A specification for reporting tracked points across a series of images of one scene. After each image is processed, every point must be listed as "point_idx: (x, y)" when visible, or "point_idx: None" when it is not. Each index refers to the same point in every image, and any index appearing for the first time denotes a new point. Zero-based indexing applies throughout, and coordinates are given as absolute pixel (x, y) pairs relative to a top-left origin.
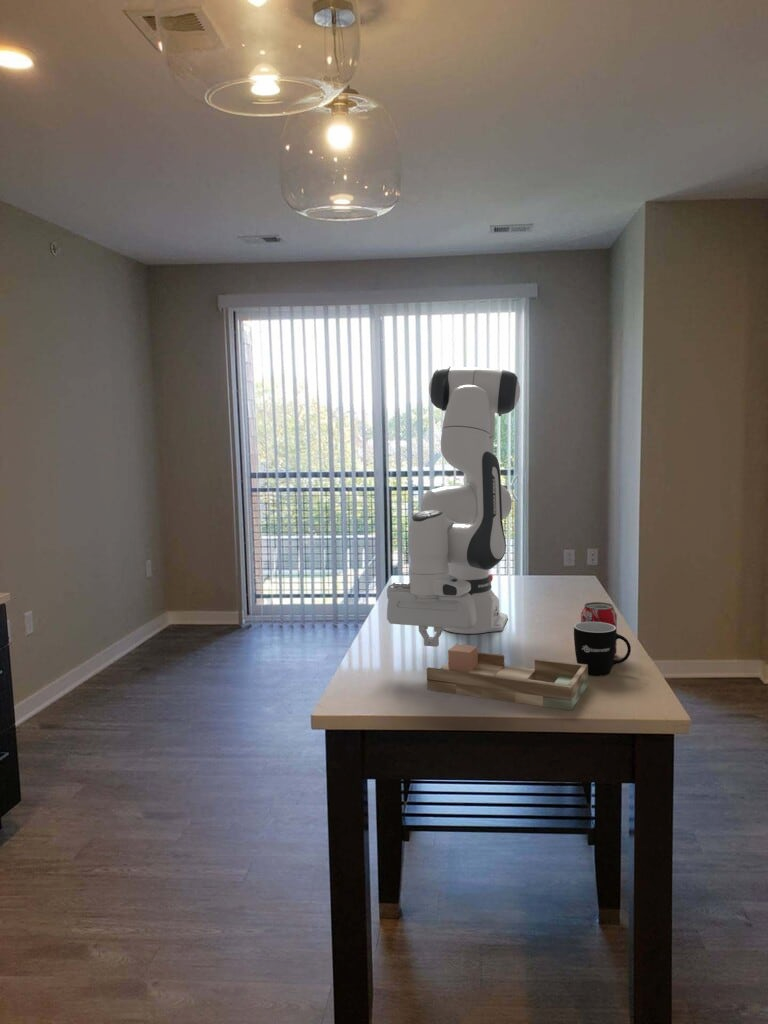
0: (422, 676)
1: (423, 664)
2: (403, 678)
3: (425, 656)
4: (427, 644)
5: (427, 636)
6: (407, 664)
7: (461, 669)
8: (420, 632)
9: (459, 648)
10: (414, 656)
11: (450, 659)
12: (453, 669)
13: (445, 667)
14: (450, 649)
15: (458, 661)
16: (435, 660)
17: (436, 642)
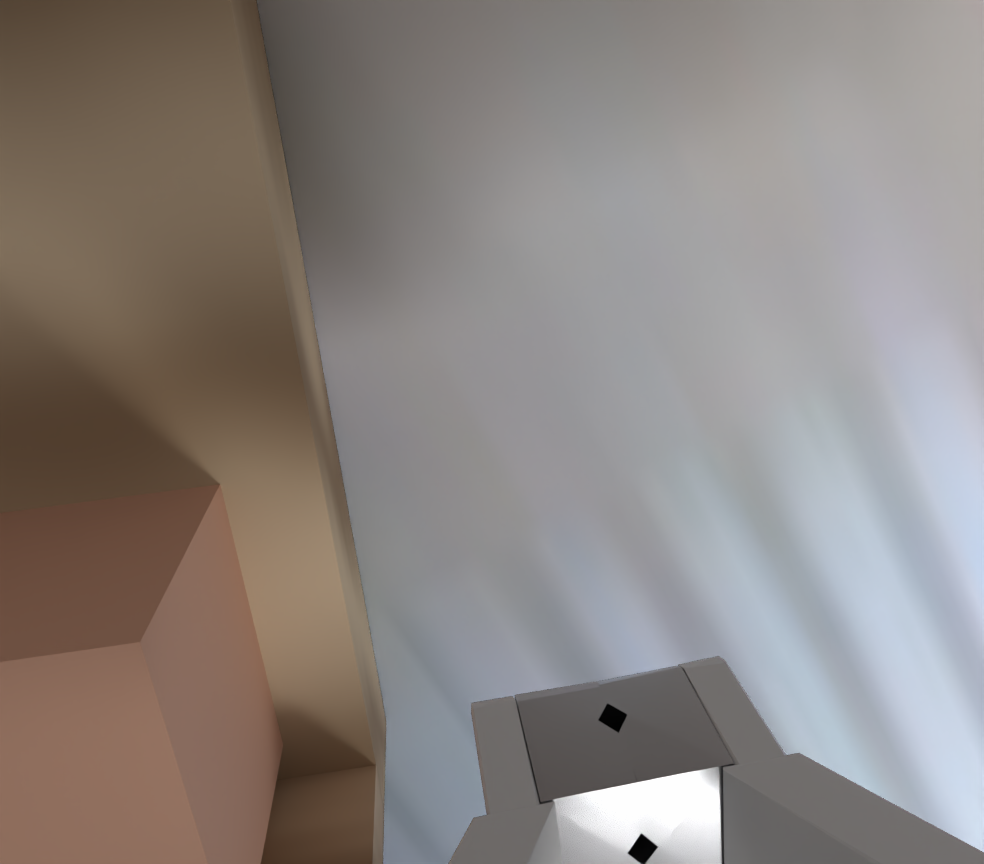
0: (565, 343)
1: None
2: (747, 159)
3: None
4: (654, 680)
5: (740, 854)
6: (890, 596)
7: (11, 514)
8: (942, 845)
9: (24, 824)
10: (909, 808)
11: (145, 555)
12: (117, 467)
13: (270, 486)
14: (129, 700)
15: (4, 566)
16: None
17: (481, 775)
